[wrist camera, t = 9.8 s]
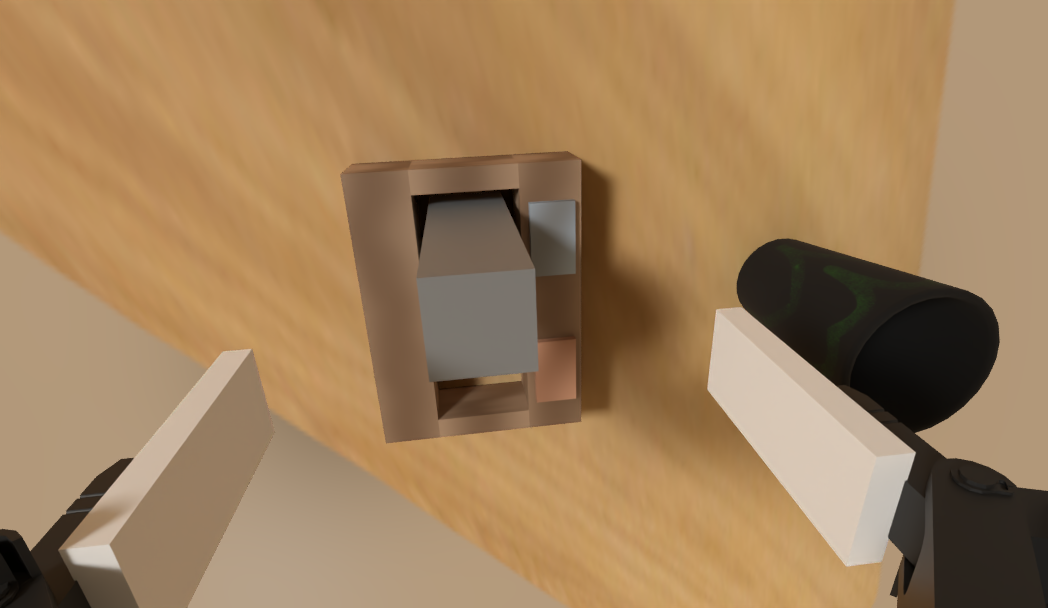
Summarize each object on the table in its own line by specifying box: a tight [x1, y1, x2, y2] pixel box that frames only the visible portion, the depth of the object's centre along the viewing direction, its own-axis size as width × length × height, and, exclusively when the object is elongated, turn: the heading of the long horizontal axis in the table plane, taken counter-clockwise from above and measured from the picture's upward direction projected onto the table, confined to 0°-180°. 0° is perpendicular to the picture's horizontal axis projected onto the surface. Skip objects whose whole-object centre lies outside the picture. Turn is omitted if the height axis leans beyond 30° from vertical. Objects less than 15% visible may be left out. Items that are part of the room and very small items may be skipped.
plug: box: [416, 191, 539, 382], centre depth 25 cm, size 4×4×14 cm
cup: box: [737, 239, 999, 433], centre depth 30 cm, size 8×8×12 cm
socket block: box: [340, 151, 581, 443], centre depth 32 cm, size 12×16×4 cm
